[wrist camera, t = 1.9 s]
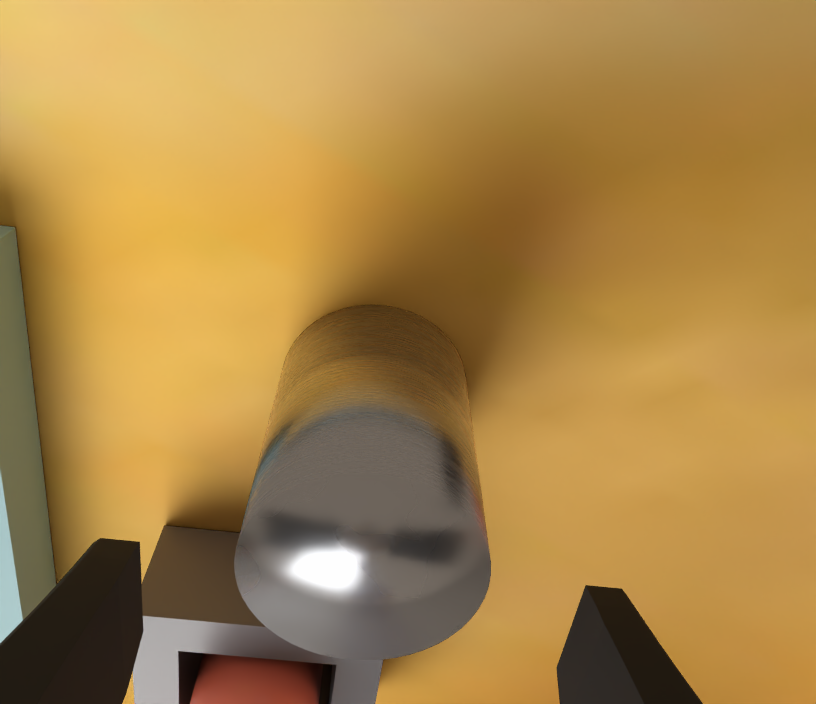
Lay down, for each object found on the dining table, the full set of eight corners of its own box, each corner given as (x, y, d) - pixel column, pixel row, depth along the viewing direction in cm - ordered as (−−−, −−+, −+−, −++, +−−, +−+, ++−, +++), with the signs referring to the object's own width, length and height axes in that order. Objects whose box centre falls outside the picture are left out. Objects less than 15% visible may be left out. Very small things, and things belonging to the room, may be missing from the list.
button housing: (364, 691, 24) (359, 786, 21) (167, 674, 24) (138, 770, 21) (388, 547, 21) (387, 638, 19) (164, 525, 21) (129, 614, 18)
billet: (450, 469, 20) (466, 669, 15) (276, 451, 20) (230, 648, 14) (481, 317, 18) (514, 488, 13) (287, 293, 17) (238, 458, 12)
